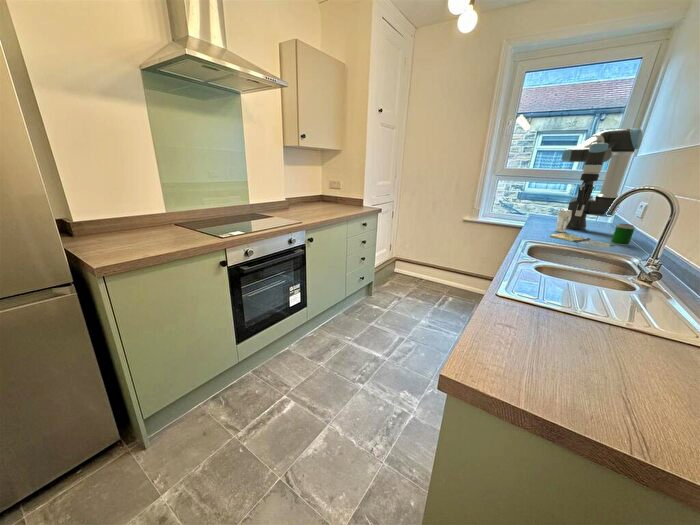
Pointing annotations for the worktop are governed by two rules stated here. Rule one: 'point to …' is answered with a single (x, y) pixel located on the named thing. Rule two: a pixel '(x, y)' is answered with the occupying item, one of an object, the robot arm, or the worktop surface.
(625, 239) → the soda can
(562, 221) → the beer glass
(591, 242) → the base leaf
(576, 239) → the swing leaf
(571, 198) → the robot arm
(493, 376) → the worktop surface
